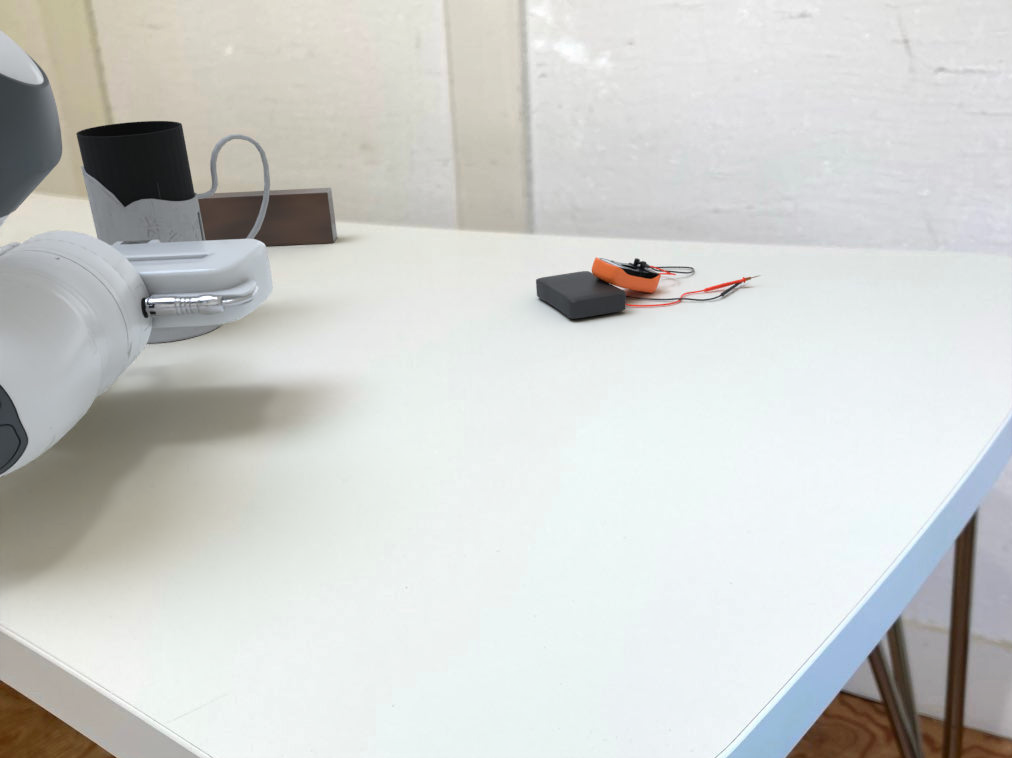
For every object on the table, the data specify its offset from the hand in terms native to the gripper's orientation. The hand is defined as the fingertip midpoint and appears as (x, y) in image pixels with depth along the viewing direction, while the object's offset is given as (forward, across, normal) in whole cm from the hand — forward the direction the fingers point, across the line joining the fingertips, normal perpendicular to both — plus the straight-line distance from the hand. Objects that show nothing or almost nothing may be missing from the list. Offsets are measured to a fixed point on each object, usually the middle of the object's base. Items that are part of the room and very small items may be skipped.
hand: (142, 251), depth 73 cm
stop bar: (+35, 0, +8) cm, 36 cm away
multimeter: (+13, -36, +8) cm, 39 cm away
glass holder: (+10, 0, +8) cm, 13 cm away
